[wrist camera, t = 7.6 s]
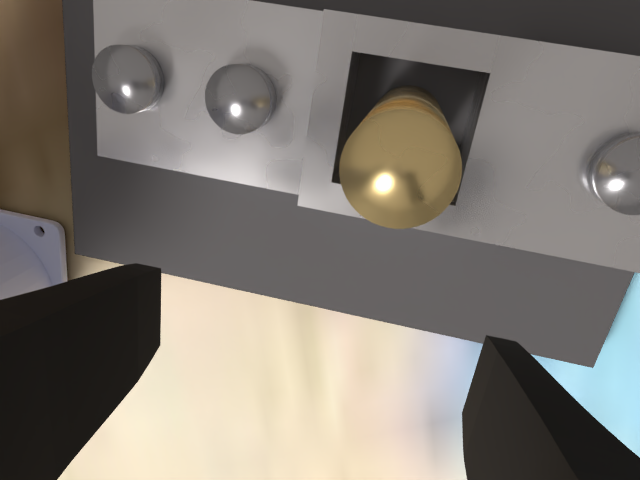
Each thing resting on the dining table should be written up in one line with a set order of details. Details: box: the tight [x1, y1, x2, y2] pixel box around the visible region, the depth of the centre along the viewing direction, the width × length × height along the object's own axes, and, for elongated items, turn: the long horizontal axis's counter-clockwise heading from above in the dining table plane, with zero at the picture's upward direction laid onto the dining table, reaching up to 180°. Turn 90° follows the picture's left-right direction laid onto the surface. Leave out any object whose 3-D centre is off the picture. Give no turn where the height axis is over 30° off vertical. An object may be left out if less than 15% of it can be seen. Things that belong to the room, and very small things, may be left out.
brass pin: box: [339, 85, 462, 229], centre depth 13 cm, size 2×2×8 cm
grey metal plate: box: [92, 0, 640, 273], centre depth 16 cm, size 19×6×3 cm, turn 82°
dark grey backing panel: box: [62, 0, 640, 368], centre depth 18 cm, size 22×16×1 cm
